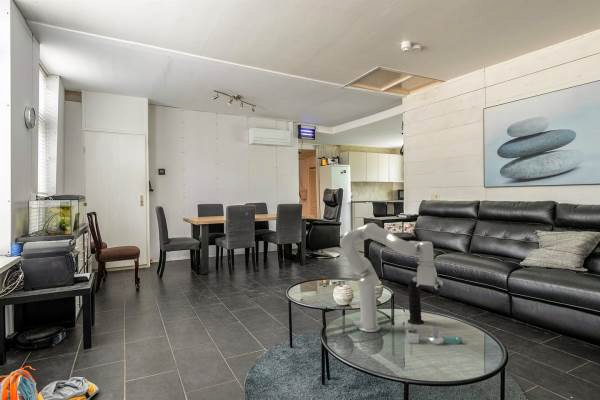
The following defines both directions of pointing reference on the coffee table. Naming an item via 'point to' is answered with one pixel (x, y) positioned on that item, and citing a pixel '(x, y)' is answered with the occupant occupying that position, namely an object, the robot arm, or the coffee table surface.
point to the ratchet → (442, 339)
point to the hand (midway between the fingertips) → (428, 294)
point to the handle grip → (414, 304)
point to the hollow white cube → (412, 336)
